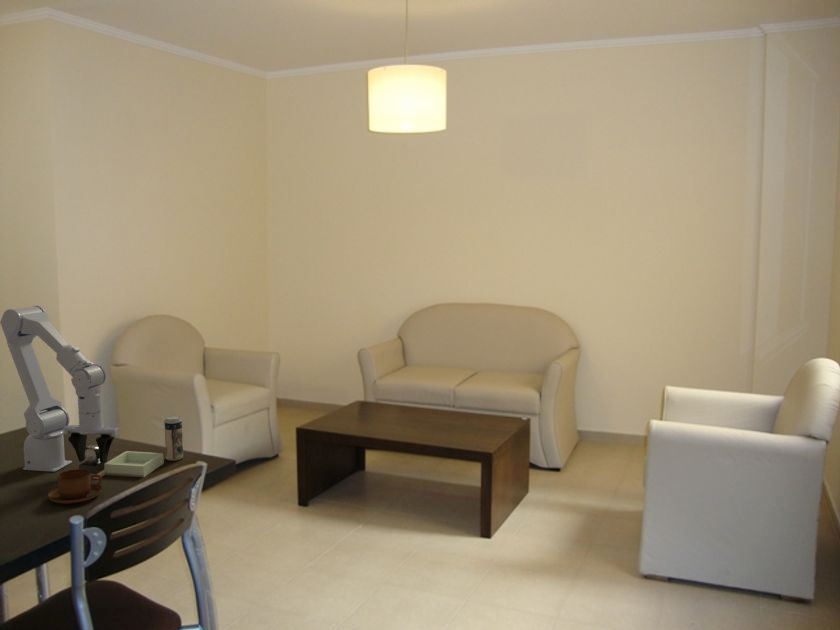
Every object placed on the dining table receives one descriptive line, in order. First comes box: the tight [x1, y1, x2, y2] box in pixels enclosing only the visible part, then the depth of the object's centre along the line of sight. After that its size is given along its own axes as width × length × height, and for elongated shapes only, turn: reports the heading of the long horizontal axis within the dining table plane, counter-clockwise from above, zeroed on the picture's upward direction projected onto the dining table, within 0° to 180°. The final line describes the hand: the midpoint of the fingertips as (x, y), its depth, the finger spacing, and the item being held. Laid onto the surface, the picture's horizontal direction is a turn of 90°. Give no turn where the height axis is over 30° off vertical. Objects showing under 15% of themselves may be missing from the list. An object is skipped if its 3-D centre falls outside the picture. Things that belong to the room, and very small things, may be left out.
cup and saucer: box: [47, 468, 103, 505], centre depth 183 cm, size 12×12×6 cm
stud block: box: [91, 470, 106, 480], centre depth 200 cm, size 7×7×3 cm
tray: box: [104, 450, 165, 478], centre depth 204 cm, size 11×11×3 cm
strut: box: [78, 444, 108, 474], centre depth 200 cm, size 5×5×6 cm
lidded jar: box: [163, 415, 184, 462], centre depth 212 cm, size 5×5×12 cm
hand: (92, 461), depth 200 cm, fingers open, 5 cm apart
